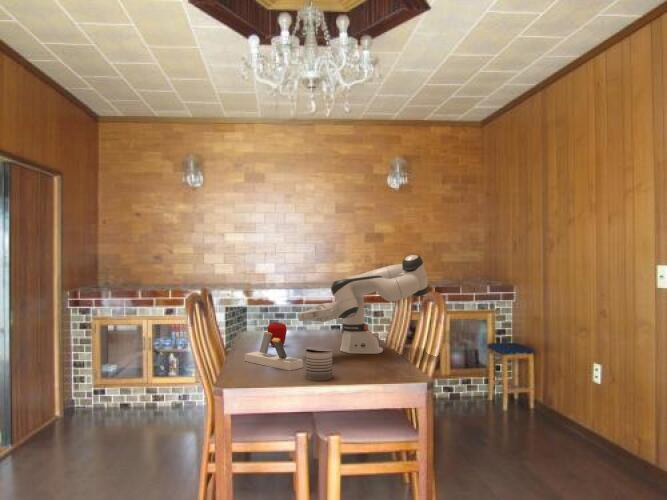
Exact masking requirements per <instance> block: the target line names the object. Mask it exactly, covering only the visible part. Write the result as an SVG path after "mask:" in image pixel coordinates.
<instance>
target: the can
mask: <svg viewBox="0 0 667 500" xmlns="http://www.w3.org/2000/svg"><path fill="white" fill-rule="evenodd" d="M305 378H306V379H309V380H314V381H315V380H316V381H323V380H329V379H333V349H332V348H328V347H320V346H318V347H317V346H308V347H305Z"/></svg>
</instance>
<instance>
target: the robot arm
mask: <svg viewBox="0 0 667 500" xmlns="http://www.w3.org/2000/svg"><path fill="white" fill-rule="evenodd" d="M428 282H429V281H428V275H427V272H426V269H425V266H424V260H423V259H422V256H420V255H418V254H410V255H407V256H405V257H404V258H403V259H402V263H399V264H392V265H388V266H387V265H386V266H383V267H380V268H377V269H372V270H369V271H367V272H363V273H360V274H356V275H349V276H347V277H345V278H340V279H337V280H335V281H333V283H332V285H331V287H330V290H331V293H332V295H333V297H334V300H335V301H333V302H326V303H320V304H318V305H316V306H314V307H312V308H310V309H308V310H305V311H302V312H299V313H297V318H298V321H299V322H306V321H307V322H308V321H309V322H310V321H312V322H321V323H325V322H330V321H333V320H340V319H342V324H341V334H342V337H341V343H340V344H341V345H340V348H339V350H340V351H341V352H344V353H346V354H367V355H368V354H371V355H372V354H373V355H374V354H376V355H377V354H380V353H381V354H382V353H383V351H384V348H383V347H381V346H379V345H380V344H379V340H378V338H377V336H375V335H374V334H372V333H371V332H370V331H369V325H368V324H367V323H365V302H364V301H365V299H364V296H367V295H369V294H372V293H373V294H374V293H376V292H377V293H378V295H379V296H380V297H381V298H382V299H384V300H385V301H387V302H397V301H399V300H402V299H405V298H408V297H410V296H413V297H417V298H418V297H424V296H425V295H427V294H428V292H429V289H430V288H429V286H430V285H429V283H428Z"/></svg>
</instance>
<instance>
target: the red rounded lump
mask: <svg viewBox="0 0 667 500" xmlns="http://www.w3.org/2000/svg"><path fill="white" fill-rule="evenodd" d="M287 329H288V327H287V326H286V324H285V323H282V322H278V321H276V322H271V323H269V325H267V331H266V332H270V333H272V336H271V340H270V344H269V345H271V346H272V347H275V346H274V344H273V341H272V339H273V338H279V339H280V340H281V343H282V345H283V346H284V345H285V343H286V337H287V331H288V330H287Z"/></svg>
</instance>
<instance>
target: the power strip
mask: <svg viewBox="0 0 667 500" xmlns="http://www.w3.org/2000/svg"><path fill="white" fill-rule="evenodd" d="M244 361H245V362H246V361H247V363H252V364H257V365H262V366H266V367H271V368H275V369H279V370H280V369H281V370H285V371H290V372H291V371H294V370H298V369H299V370H300V369H301V368H303V366H304V365H303V363H304V360H303V359H302V358H295V357H290V356H287V357H286V358H285V359H283V358H279V356H278V354H273V353H268V352H267V354H265V353H260V352H259V351H258V350H257V351H252V352H248V353H244Z"/></svg>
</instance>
